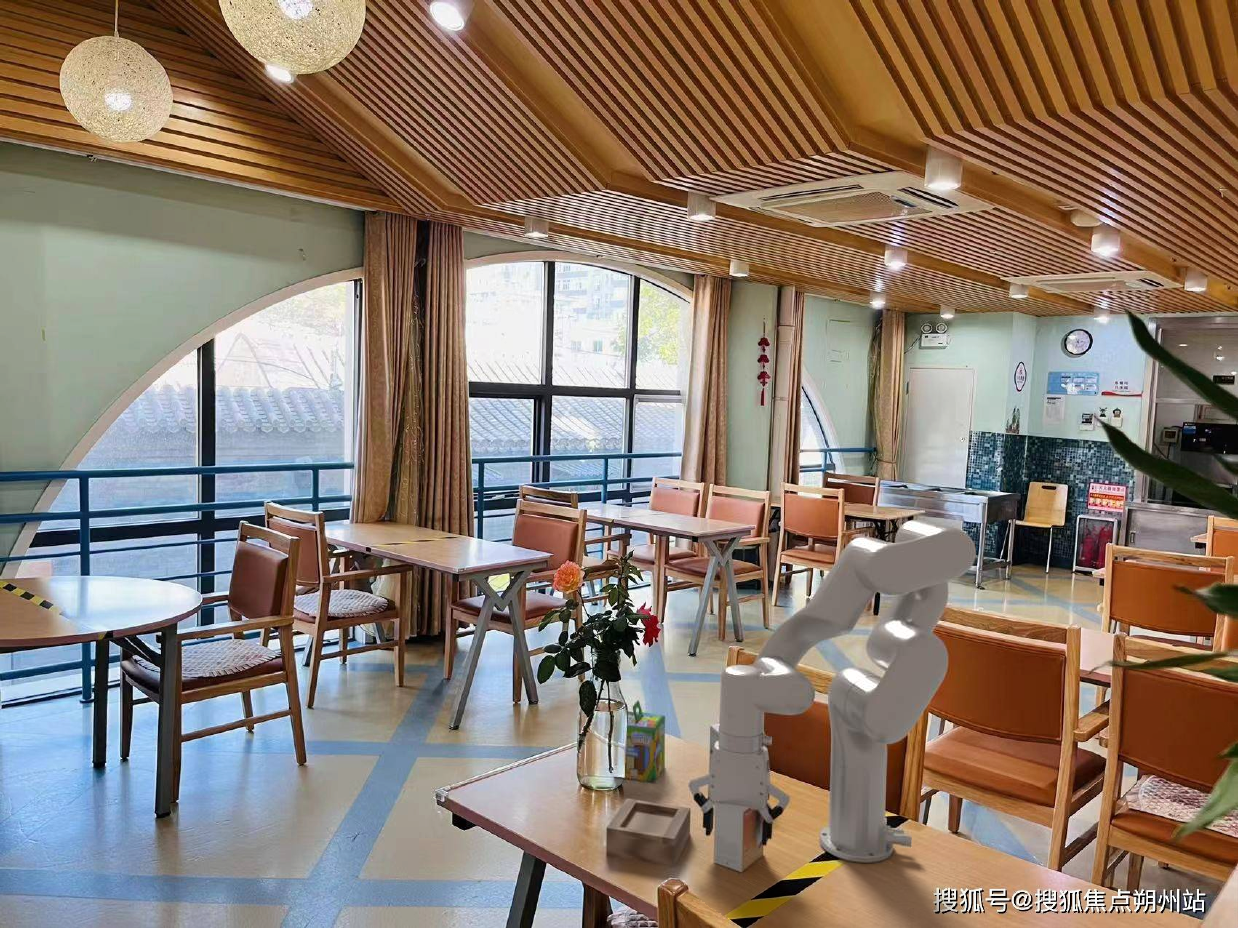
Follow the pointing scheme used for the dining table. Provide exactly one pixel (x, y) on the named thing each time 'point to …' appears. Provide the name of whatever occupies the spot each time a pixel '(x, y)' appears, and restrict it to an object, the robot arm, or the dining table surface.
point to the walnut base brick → (648, 832)
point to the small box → (737, 836)
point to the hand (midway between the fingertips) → (736, 836)
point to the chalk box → (644, 745)
